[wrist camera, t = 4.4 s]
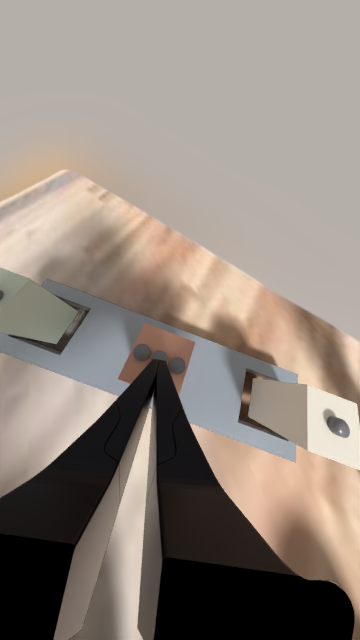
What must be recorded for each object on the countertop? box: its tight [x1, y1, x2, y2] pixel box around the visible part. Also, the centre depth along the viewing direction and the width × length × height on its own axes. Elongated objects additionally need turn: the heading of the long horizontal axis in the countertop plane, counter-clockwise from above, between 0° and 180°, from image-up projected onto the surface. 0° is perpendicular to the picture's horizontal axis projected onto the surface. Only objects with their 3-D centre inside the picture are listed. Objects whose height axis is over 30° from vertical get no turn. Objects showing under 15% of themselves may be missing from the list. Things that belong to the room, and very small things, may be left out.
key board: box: [0, 279, 298, 463], centre depth 18 cm, size 38×10×3 cm, turn 71°
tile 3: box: [118, 323, 195, 395], centre depth 13 cm, size 4×4×8 cm
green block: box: [0, 268, 78, 344], centre depth 13 cm, size 4×4×8 cm
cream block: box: [248, 378, 360, 470], centre depth 13 cm, size 4×4×8 cm
